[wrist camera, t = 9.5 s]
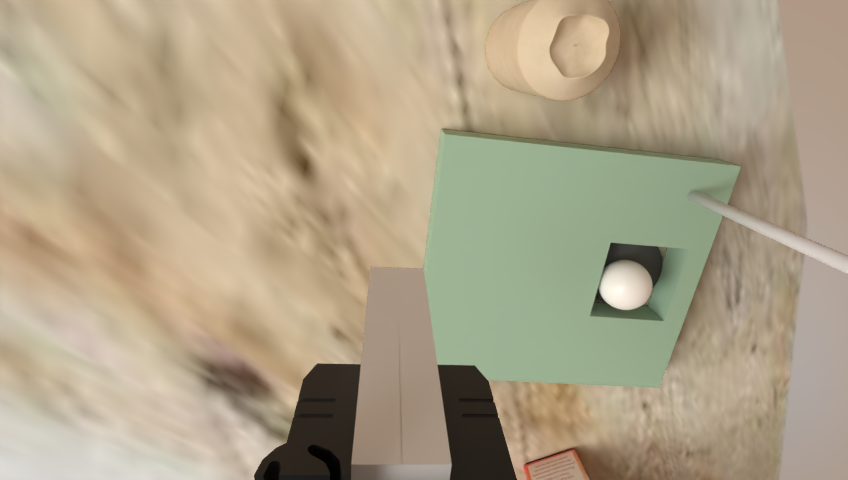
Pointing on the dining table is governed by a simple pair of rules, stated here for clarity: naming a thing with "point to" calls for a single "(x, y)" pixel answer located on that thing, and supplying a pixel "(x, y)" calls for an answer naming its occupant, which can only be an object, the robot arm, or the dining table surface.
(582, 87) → the candle
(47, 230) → the dining table surface
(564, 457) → the cracker box
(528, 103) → the dining table surface
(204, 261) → the dining table surface
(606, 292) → the ball
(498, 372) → the green
